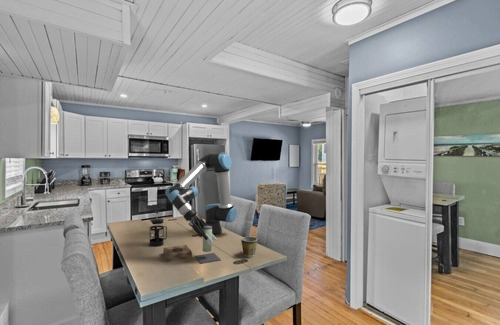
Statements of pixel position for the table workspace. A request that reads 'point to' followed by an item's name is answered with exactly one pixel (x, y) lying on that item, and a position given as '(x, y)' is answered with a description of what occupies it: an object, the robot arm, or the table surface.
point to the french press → (157, 233)
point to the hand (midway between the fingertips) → (213, 242)
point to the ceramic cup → (249, 246)
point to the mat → (207, 258)
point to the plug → (205, 245)
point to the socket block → (177, 253)
